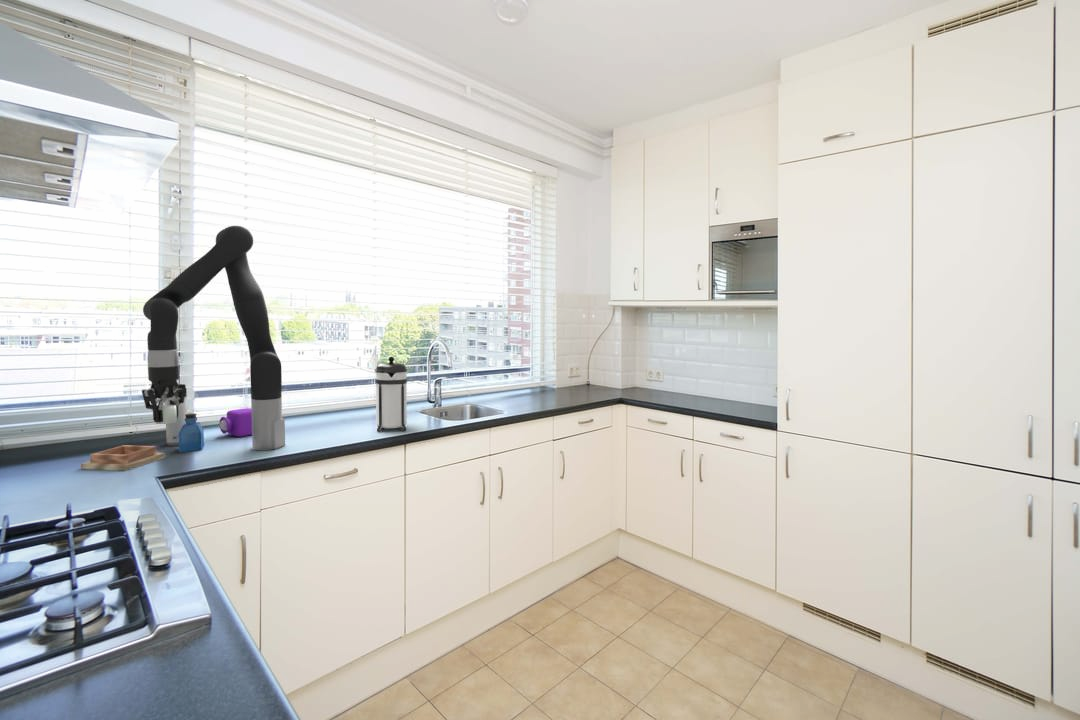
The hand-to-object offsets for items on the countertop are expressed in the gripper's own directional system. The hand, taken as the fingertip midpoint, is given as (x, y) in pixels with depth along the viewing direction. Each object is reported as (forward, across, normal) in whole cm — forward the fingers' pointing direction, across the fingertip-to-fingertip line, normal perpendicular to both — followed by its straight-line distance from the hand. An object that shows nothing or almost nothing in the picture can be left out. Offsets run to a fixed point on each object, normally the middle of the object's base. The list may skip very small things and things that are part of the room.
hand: (166, 420), depth 152 cm
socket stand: (+13, -2, +12) cm, 18 cm away
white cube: (+1, 0, 0) cm, 1 cm away
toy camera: (+14, +38, +3) cm, 40 cm away
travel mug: (+14, +22, +15) cm, 30 cm away
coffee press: (+14, +57, -48) cm, 76 cm away
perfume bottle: (+14, +16, +5) cm, 22 cm away
